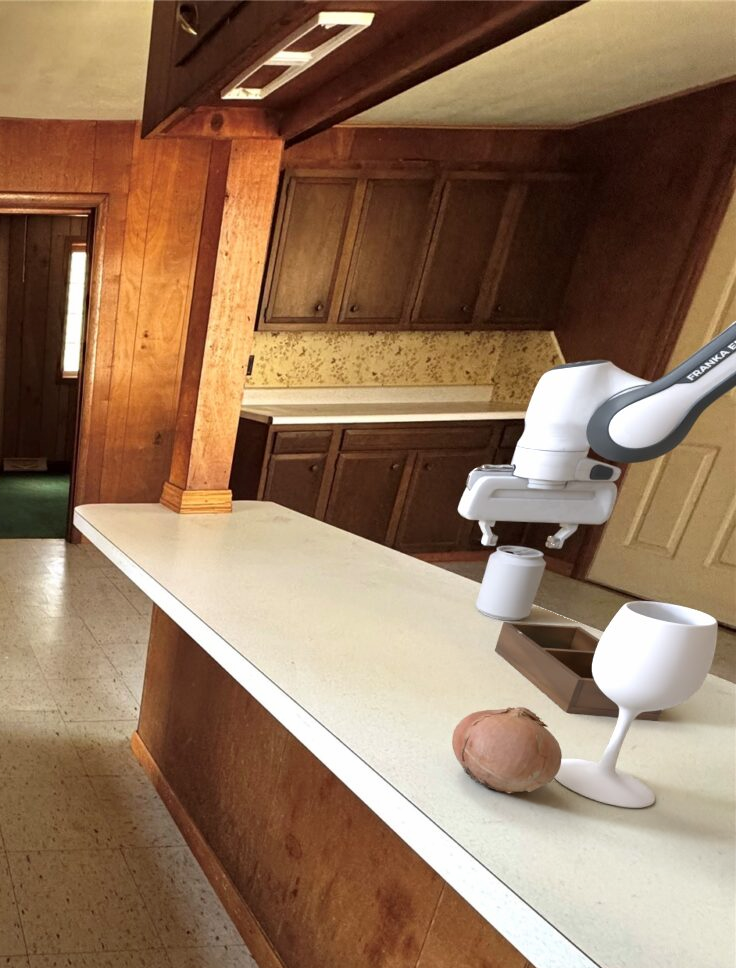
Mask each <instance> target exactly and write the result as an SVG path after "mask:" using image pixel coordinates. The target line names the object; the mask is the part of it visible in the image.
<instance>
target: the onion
mask: <svg viewBox="0 0 736 968" xmlns="http://www.w3.org/2000/svg"><path fill="white" fill-rule="evenodd" d="M547 728H549V726H548V724H546V723H544V721H542V718H540V717H539V716H538V715H537V714H536V713H535V712H533V711H532V710H531V709H529V708H526V707H522V706H517V707H510V706H508V707H507V708H502V709H486V710H480V711H475V712H472V713H470V714H468V715H466V716H465V717H463V719H461V720H460V721H459V723H458V724H457V725H456V726H455V728H454V729H453V732H452V736H451V737H452V738H451V745H452V750H453V753H454V755H455V758H456V760H457V761H458V763H459V764H460V765H461V767H462V768H463V772H464V773H465V774H466V776H467V777H468V778H470V779H471V780H473V781H474V782H475V783H478V784H479V785H481V786H483V788H485V789H486V790H488V789H489V788H490V789H493V790H496V792H505V793H507V794H511V793H512V794H513V793H515V792H520V793H522V792H528V793H530V792H533V791H535V790H537V789H538V788H541V787H544V786H545V785H546V786H547V784H549V783H551V782H552V781H553V779H555V778H554V777H555V776H556V775H557V773H558V771H559V769H560V766H561V759H563V757H562V756H563V755H562V749H561V746H560V743H559V741H558V740H557V738H556V737H555V736H554V735H553V734H552V733H551V732H550V731H549V730H548V729H547Z"/></svg>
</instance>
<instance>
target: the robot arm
mask: <svg viewBox="0 0 736 968" xmlns="http://www.w3.org/2000/svg"><path fill="white" fill-rule="evenodd" d="M735 388H736V320H735V321H733V322H732V323H731V324H730V325H728V327H726V329H724V330H723V331H722V332H720V333H719V334H718V335H716V336H715V337H714V338H713V339H711V340H710V341H709V342H708V343H706V344H704V345H703V346H702V347H700V348H699V349H698V350H696V351H695V352H694V353H693V354H691V355H690V356H689V357H687V358H686V359H685V360H683V361H682V362H681V363H680V364H678V365H677V366H676V367H674V368H673V369H672V370H670V371H669V372H668V373H666V374H665V375H663V376H662V377H660V378H658V379H656V380H654V381H649V380H646V379H644V378H641V377H638V376H635V375H633V374H631V373H630V372H627V371H625V370H623V369H621V368H620V367H619V366H617V365H615V364H614V363H613V362H612V361H611V360H606V359H594V360H583V361H575V362H568V363H563V364H559V365H556V366H555V367H552V368H550V369H549V370H547V371H546V372H545V373H543V374H542V376H541V377H540V378H539V381H537V384H536V386H535V388H534V391H533V393H532V395H531V398H530V401H529V403H528V406H527V409H526V413H525V416H524V430H523V432H522V435H521V436H520V438H519V440H518V441H517V443H516V446H515V450H514V453H513V456H512V459H511V463H510V464H489V463H486V464H482V465H481V466H477V467H476V468H473V469H472V470H471V471H470V472H469V473H468V477H467V480H466V487H465V489H464V491H463V493H462V496H461V498H460V501H459V503H458V507H457V512H458V514H459V515H460V516H461V517H462V518H465V519H467V520H470V521H478V525H479V527H480V530H481V532H482V537H481V541H480V542H481V544H482V545H483V546H491V547H492V546H493V547H494V546H496V545H497V541H498V539H499V536H498V535H496V534H495V533H493V532H492V529H491V527H492V528H493V527H495V525H496V522H523V523H524V522H525V523H548V524H549V523H550V524H551V523H552V524H559V527H561V528H560V529H559V530H558V531H557V532H556V533H555V534H554V535H548V536H547V538H546V542H545V547H547V548H549V549H556V550H560V549H562V547H563V545H564V543H565V540H567V539H568V538H569V537H571V536H572V534H574V533H575V532H576V531H577V530H578V527H579V525H603V524H604V523H606V521H609V519H610V517H611V516H612V513H613V510H614V507H615V503H616V500H617V494H618V487H617V485H616V483H614V482H616V481H617V480H618V479H619V478H620V476H621V474H622V469H621V468H620V467H618V466H615V465H612V464H609V463H606V462H602V461H599V460H598V459H596V458H594V457H593V458H592V457H589V456H588V454H589V451H590V448H591V449H592V451H593V452H594V453H596V454H597V455H598V456H600V457H602V458H603V459H606V460H608V461H612V462H616V463H622V464H636V463H645V462H649V461H652V460H655V459H657V458H661V457H662V456H665V455H666V454H668V453H670V452H671V451H673V450H675V448H677V447H678V446H679V445H680V444H681V443H682V442H683V441H684V440H685V439H686V437H687V436H688V434H689V433H690V431H691V430H692V429H693V427H694V426H695V423H696V422H697V421H698V419H699V417H700V416H701V415H702V414H703V412H705V410H706V409H708V408H709V407H710V406H711V405H712V404H714V403H715V402H717V401H718V400H719V399H720V398H722V397H723V396H725V395H726V394H728V393H729V392H730V391H731V390H733V389H735Z"/></svg>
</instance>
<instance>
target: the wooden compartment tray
mask: <svg viewBox="0 0 736 968" xmlns="http://www.w3.org/2000/svg"><path fill="white" fill-rule="evenodd" d="M599 641H600V639H599V638H598V637H596V636H595V635H594V634H592V633H590V632H589V631H587V630H586V629H584V628H582V627H581V626H574V625H573V626H572V625H561V624H560V625H559V624H541V623H526V622H525V623H524V622H511V621H510V622H509V621H508V622H507V621H503V622H502V625H501V629H500V632H499V635H498V638H497V641H496V645H495V648H494V651H495V653H497V654H498V655H499V656H500V657H501V658H503V659H504V660H505V661H506V662H507V663H509V664H510V665H511V666H512V667H513V668H514V669H515V670H516V671H517V672H519V673H520V674H521V675H522V676H523V677H524V678H525V679H527V680H528V681H529V682H530V683H531V684H533V685H534V686H535V687H536V688H537V689H538V690H540V692H541V693H543V694H544V695H545V696H547V698H549V699H550V700H551V701H552V702H553V703H554V704H556V705H557V706H558V707H559V708H560V709H561V710H563V711H564V712H565V713H568V714H579V715H588V716H589V715H590V716H602V717H613V718H618V717H619V707H618V705H617V704H616V703H615V702H613V701H612V700H611V699H610V698H608V697H607V696H606V695H605V694H604V693H603V692H602V691H601V690H600V688H599V687H598V685H597V684H596V682H595V680H594V677H593V673H592V663H593V658H594V655H595V651H596V649H597V646H598V643H599ZM662 711H663V710H656V711H646V712H642V713H640V714H638V715H637V716H636V718H635V719H634V720H644V721H656V722H657V721H658V722H659V719H660V717H661V714H662Z"/></svg>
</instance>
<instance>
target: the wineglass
mask: <svg viewBox="0 0 736 968" xmlns="http://www.w3.org/2000/svg"><path fill="white" fill-rule="evenodd" d="M599 640H600V641H599V643H598V646H597V649H596V651H595V655H594V658H593V663H592V673H593V677H594V680H595V682H596V684H597V685H598V687H599V688H600V690H601V691H602V692H603V693H604V694H605V695H606V696H607V697H608V698H610V699H611V700H612V701H613V702H615V703H616V704H617V705H618V707H619V717H617V721H616V725H615V727H614V731H613V732H612V736H611V738H610V740H609V742H608V744H607V747H606V749H605V750H604V753H603V754H602V756H601V758H600V759H599V761H593V760H589V759H582V758H562V759H561V766H560V769H559V771H558V773H557V775H556V776H555V777H554V778H553V779H555V780H556V781H557V782H558V783H560V784H561V785H563V786H564V787H566V788H567V789H569V790H571V791H572V792H574V793H576V794H578V795H581V796H583V797H585V798H588V799H590V800H594V801H597V802H600V803H603V804H606V805H611V806H614V807H615V806H616V807H622V808H630V809H638V808H639V809H641V808H646V807H649V806H651V805H653V804H654V803H655V802H656V796H655V793H654V792H653V790H651V788H650V787H649V786H648V785H647V784H645V783H644V782H642V781H641V780H640V779H638V778H637V777H635V776H634V775H632V774H630V773H628V772H626V771H624V770H621V769H619V768H616V765H617V761H618V758H619V755H620V752H621V749H622V747H623V743H624V742H625V741H624V740H625V738H626V736H627V734H628V731H629V730H630V727H631V726H632V723H633V722H634V720H636V719H635V718H636V716H637V715H638V714H640V713H642V712H646V711H656V710H662V711H664V710H667V709H671V708H673V707H677V706H680V705H682V704H683V703H685V702H687V701H689V700H690V699H691V698H693V697H694V696H695V695H696V694H697V693H698V692H699V690H700V689H701V687H702V686H703V684H704V682H705V680H706V679H707V677H708V675H709V672H710V670H711V668H712V664H713V661H714V657H715V652H716V647H717V640H718V621H717V620H716V618H715V617H713V616H712V615H710V614H708V613H705V612H702V611H700V610H697V609H694V608H690V607H686V606H682V605H677V604H672V603H667V602H660V601H650V600H649V601H648V600H635V601H629V602H626V603H625V604H623V606H621V608H620V609H619V610H618V611H617V612H616V614H615V615H614V616H613V617H612V619H611V621H610V622H609V624H608V625H607V627H606V628H605V630H604V632H603V634H602V635H601V637H600V639H599Z"/></svg>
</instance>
